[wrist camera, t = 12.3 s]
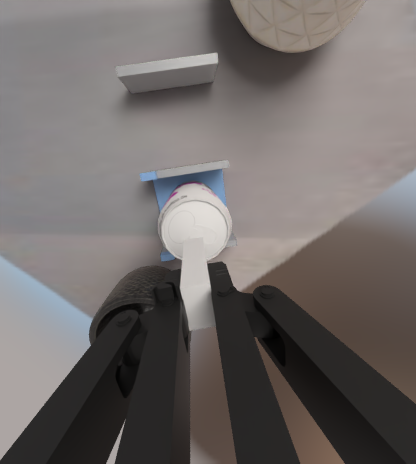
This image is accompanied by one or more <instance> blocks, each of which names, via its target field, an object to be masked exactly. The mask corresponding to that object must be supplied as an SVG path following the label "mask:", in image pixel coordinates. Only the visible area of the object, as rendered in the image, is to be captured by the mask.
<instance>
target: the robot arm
mask: <svg viewBox="0 0 416 464" xmlns="http://www.w3.org/2000/svg"><path fill="white" fill-rule="evenodd" d="M151 294H152V297H153V301H154V308H153V309H152V310H150V311H148V312H145V313H143V314H140V315H139V314H138V312H137V311H135V310H126V311H123V312H121V313H119V314H117V315H116V316H115V317H114V318H113V319H112V320H111V321H110V322H109V323H108V325H107V326H106V327H105V328H104V330H103V331H102V332H101V333H100V335H99V336H98V337H97V339H96V340H95V341H94V342H93V344H92V345H91V346H90V348H89V349H88V350H87V351H86V352H85V354H84V355H83V356H82V358H81V359H80V360H79V361H78V363H77V364H76V365H75V366H74V368H73V369H72V370H71V371H70V373H69V374H68V375H67V377H66V378H65V379H64V380H63V382H62V383H61V384H60V385H59V387H58V388H57V389H56V390H55V392H54V393H53V394H52V396H51V397H50V398H49V399H48V401H47V402H46V403H45V404H44V406H43V407H42V408H41V410H40V411H39V412H38V413H37V415H36V416H35V417H34V418H33V420H32V421H31V422H30V424H29V425H28V426H27V428H25V430H24V431H23V432H22V434H21V435H20V436H19V437H18V439H17V440H16V441H15V442H14V444H13V445H12V447H11V448H10V449H9V450H8V451H7V453H6V454H5V455H4V456H3V458H2V459H1V460H0V464H106V462H107V460H108V458H109V456H110V453H111V451H112V449H113V446H114V444H115V442H116V440H117V437H118V435H119V433H120V430H121V428H122V426H123V424H124V421H125V425H124V428H123V432H122V436H121V440H120V444H119V448H118V452H117V456H116V461H115V464H190V337H189V333H188V326H189V330H190V331H193V330H198V329H204V328H209V327H215V326H216V330H217V336H218V342H219V349H220V356H221V362H222V369H223V374H224V382H225V388H226V395H227V401H228V407H229V413H230V420H231V427H232V433H233V439H234V446H235V453H236V459H237V464H300V462H299V459H298V456H297V453H296V451H295V448H294V445H293V443H292V440H291V437H290V434H289V431H288V429H287V426H286V423H285V421H284V418H283V415H282V412H281V409H280V407H279V404H278V401H277V399H276V396H275V393H274V390H273V388H272V385H271V382H270V379H269V377H268V374H267V371H266V368H265V366H264V363H263V360H262V358H261V355H260V352H259V349H258V346H257V344H256V341H255V338H254V337H257V339H258V341H259V342H260V344H261V345H262V347H263V348H264V349H265V351H266V352H267V353H268V355H269V356H270V358H271V359H272V361H273V362H274V363H275V365H276V366H277V368H278V369H279V371H280V372H281V374H282V375H283V376H284V377H285V379H286V381H287V382H288V383H289V385H290V386H291V388H292V389H293V391H294V392H295V393H296V395H297V396H298V398H299V399H300V400H301V402H302V403H303V405H304V406H305V407H306V409H307V410H308V412H309V413H310V415H311V416H312V417H313V419H314V420H315V422H316V423H317V425H318V426H319V427H320V429H321V430H322V432H323V433H324V435H325V436H326V437H327V439H328V440H329V442H330V443H331V444H332V446H333V447H334V449H335V450H336V452H337V453H338V454H339V456H340V457H341V459H342V460H343V461H344V463H345V464H416V404H415V403H414V402H413V401H411V400H410V399H409V398H408V397H407V396H405V395H404V394H403V393H402V392H401V391H400V390H398V389H397V388H396V387H395V386H394V385H392V384H391V383H390V382H389V381H387V380H386V379H385V378H384V377H383V376H382V375H381V374H379V373H378V372H377V371H376V370H375V369H373V368H372V367H371V366H370V365H369V364H367V363H366V362H365V361H364V360H363V359H361V358H360V357H359V356H358V355H357V354H356V353H354V352H353V351H352V350H351V349H349V348H348V347H347V346H346V345H345V344H344V343H342V342H341V341H340V340H339V339H338V338H336V337H335V336H334V335H333V334H332V333H331V332H329V331H328V330H327V329H326V328H325V327H323V326H322V325H321V324H320V323H319V322H317V321H316V320H315V319H314V318H313V317H312V316H310V315H309V314H308V313H307V312H306V311H304V310H303V309H302V308H301V307H300V306H298V305H297V304H296V303H295V302H294V301H292V300H291V299H290V298H289V297H287V295H285V294H284V293H283V292H282V291H280V290H279V289H278V288H276V287H274V286H270V285H269V286H268V285H263V286H259V287H257V288H256V289H255V290H254V291H253V294H250V293H242V292H239V291H237V289H236V288H235V287H234V286H233V283H232V281H231V278H230V275H229V272H228V270H227V266H226V264H224V263H223V262H222V261H221V262H216V263H210V264H207V261H206V255H205V249H204V243H203V237H199V238H193V239H187V240H184V245H183V257H182V269H178V270H172V271H169V272H168V273H167V274H166V276H165V280H164V281H163V282H160V283H158V284H156V285H155V286H153V287H152V289H151ZM125 419H126V420H125Z"/></svg>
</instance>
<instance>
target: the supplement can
mask: <svg viewBox="0 0 416 464" xmlns="http://www.w3.org/2000/svg"><path fill="white" fill-rule="evenodd" d="M231 230H232V220H231V217H230V214H229V210H228V209H227V208H226V206H225V205H224V204H223V203H222V201H221V200H220V199H219V198H218V196H217V195H216V194H215V193H214V192H213V191H212V189H211V188H210V187H209V186H207V185H206V184H204V183H202V182H198V181H187V182H184V183H182V184H180V185H179V186H177V187H176V188H175V190H174V191H173V192H172V193H171V195H170V197H169V198H168V200H167V202H166V203H165V205H164V207H163V208H162V210H161V213H160V216H159V219H158V235H159V237H160V239H161V242H162V244H163V246H164V247H165V248H166V249H167V250H168V251H169V252H170V253H171V254H172V255H173V256H174V257H176V258H178V259H180V260H182V257H183V245H184V240H187V239H193V238H199V237H203V243H204V249H205V255H206V261H208V260H210V259H212V258H214V257H216V256H217V255H218V254H219V253H220V252H221V251H222V250H223V249H224V247H225V246H226V245H227V243H228V240H229V238H230V236H231Z"/></svg>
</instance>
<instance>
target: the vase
mask: <svg viewBox="0 0 416 464" xmlns="http://www.w3.org/2000/svg"><path fill="white" fill-rule="evenodd" d="M230 2H231V4H232V7H233V9H234V11H235V13H236V15H237V16H238V18H239V20H240V22H241V23H242V25H243V26H244V28H245V29H246V31H247V32H248V33H249V35H250V36H251V37H252V38H253V39H254V40H255V41H257V42H258V43H260V44H262V45H264V46H267V47H269V48H272V49H274V50H277V51H282V52H288V53H297V52H304V51H308V50H311V49H314V48H316V47H319V46H321V45H323V44H325V43H326V42H328V41H330V40H331V39H333V38H334V37H335V36H336V35H338V34H339V33H340V32H341V31H342V30H343V29H344V28H345V27H346V26H347V25H348V24H349V23H350V22H351V21H352V20H353V18H354V17H355V16H356V15H357V14H358V12H359V11H360V9H361V8H362V6H363V5H364V3H365V2H366V0H230Z"/></svg>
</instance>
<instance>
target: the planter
mask: <svg viewBox="0 0 416 464" xmlns="http://www.w3.org/2000/svg"><path fill="white" fill-rule="evenodd" d="M169 271H171V270H169V269H167V268H164V267H160V266H145V267H141V268H138V269H136V270H134V271H132V272H130V273H129V274H127V275H126V276H125V277H124V278H123V279H122V280H121V281H120V282H119V283H118V284H117V285H116V287H115V288H114V289H113V290H112V292H111V293H110V294H109V296H108V297H107V299H106V300H105V301H104V303H103V304H102V306H101V307H100V309H99V310H98V312H97V313H96V315H95V317H94V318H93V320H92V323H91V326H90V331H89V338H90V343H91V345H92V344H93V342H94V341H95V340H96V339H97V337H98V336H99V335H100V333H101V332H102V331H103V330H104V328H105V327H106V326H107V325H108V323H109V322H110V321H111V320H112V319H113V318H114V317H115V316H116V315H117V314H119V313H121V312H123V311H126V310H135V311H137V312H138V314H139V315H140V314H143V313H145V312H148V311H150V310H152V309H153V308H154V301H153V297H152V294H151V289H152V287H153V286H155V285H156V284H158V283H160V282H163V281H164V280H165V276H166V274H167V273H168V272H169ZM188 333H189V337H190V341H191V331H190V330H189V326H188Z"/></svg>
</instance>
